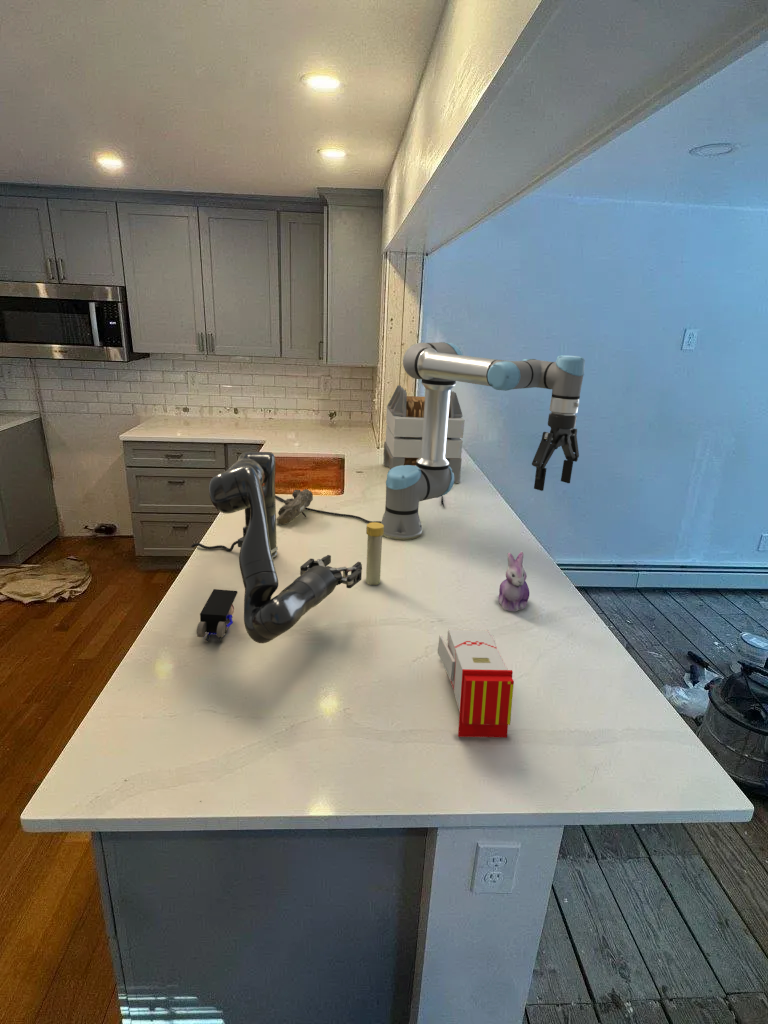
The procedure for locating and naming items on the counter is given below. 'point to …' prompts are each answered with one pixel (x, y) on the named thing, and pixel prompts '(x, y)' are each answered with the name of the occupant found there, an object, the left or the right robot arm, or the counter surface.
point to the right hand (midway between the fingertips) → (552, 485)
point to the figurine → (514, 585)
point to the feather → (442, 501)
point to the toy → (478, 682)
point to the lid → (375, 529)
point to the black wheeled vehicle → (217, 614)
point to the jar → (373, 560)
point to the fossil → (294, 506)
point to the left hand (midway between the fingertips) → (344, 561)
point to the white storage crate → (419, 431)
